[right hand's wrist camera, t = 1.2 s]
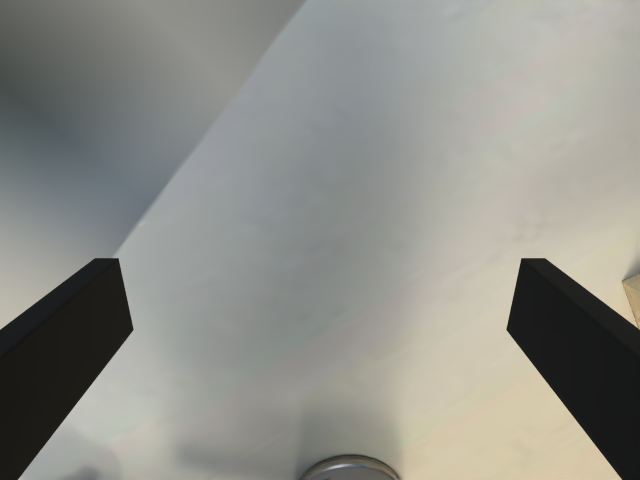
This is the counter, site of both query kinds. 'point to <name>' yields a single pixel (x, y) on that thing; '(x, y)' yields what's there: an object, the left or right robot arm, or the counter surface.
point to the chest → (633, 295)
